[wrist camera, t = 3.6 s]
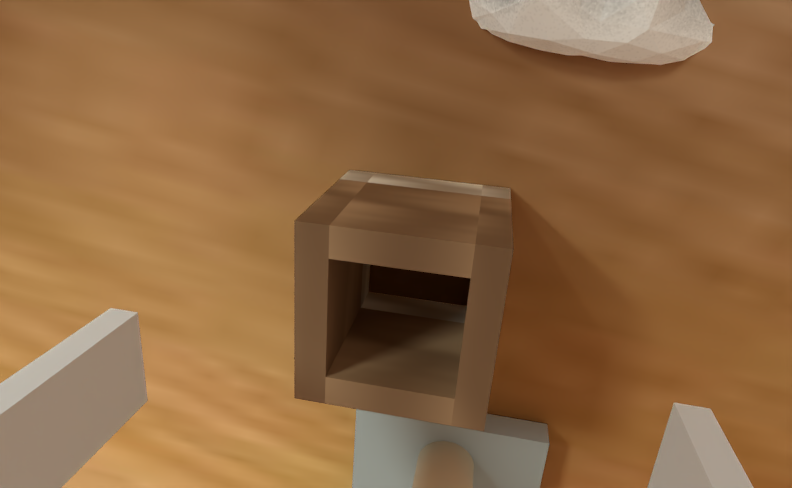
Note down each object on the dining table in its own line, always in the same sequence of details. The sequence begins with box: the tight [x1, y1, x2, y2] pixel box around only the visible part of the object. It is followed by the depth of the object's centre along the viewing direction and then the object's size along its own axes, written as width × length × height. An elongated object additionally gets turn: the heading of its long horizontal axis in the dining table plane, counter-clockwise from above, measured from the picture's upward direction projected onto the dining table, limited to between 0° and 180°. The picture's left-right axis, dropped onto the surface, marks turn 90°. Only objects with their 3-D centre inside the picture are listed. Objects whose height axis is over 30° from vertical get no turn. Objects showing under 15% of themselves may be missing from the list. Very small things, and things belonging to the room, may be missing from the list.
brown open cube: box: [295, 170, 514, 432], centre depth 19 cm, size 6×6×6 cm
